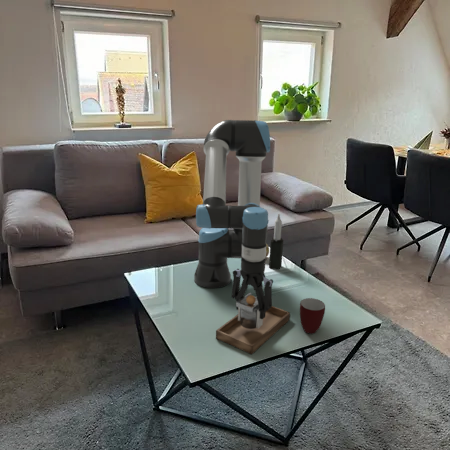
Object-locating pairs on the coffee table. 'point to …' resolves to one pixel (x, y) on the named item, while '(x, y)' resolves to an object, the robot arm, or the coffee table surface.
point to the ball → (250, 299)
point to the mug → (311, 314)
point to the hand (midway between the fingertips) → (250, 322)
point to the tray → (252, 331)
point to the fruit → (267, 250)
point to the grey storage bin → (248, 312)
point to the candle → (276, 246)
